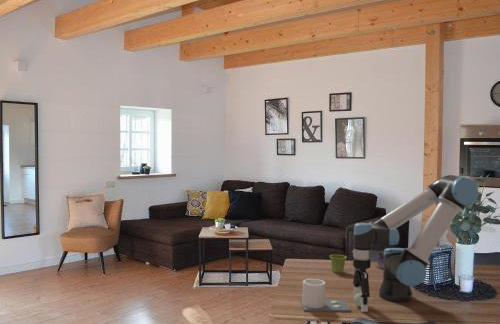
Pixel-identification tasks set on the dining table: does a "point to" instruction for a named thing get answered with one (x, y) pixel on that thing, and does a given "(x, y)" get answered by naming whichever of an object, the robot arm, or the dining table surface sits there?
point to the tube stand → (320, 298)
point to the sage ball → (358, 299)
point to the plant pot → (338, 263)
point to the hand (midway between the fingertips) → (360, 306)
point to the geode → (380, 261)
